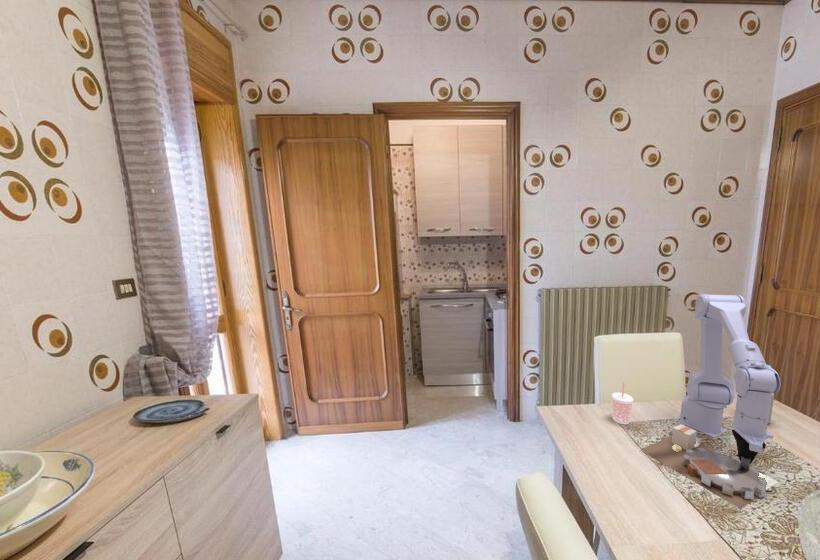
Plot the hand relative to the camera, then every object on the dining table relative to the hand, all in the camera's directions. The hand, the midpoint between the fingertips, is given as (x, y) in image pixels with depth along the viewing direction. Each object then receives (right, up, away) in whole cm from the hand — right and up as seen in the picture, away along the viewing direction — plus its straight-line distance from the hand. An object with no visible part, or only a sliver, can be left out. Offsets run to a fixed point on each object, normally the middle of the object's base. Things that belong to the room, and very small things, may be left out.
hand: (744, 461), depth 83 cm
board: (-7, -4, +4) cm, 9 cm away
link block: (-6, -2, +12) cm, 13 cm away
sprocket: (-6, -4, 0) cm, 8 cm away
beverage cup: (-16, -1, +25) cm, 30 cm away
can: (+28, 0, +24) cm, 37 cm away
